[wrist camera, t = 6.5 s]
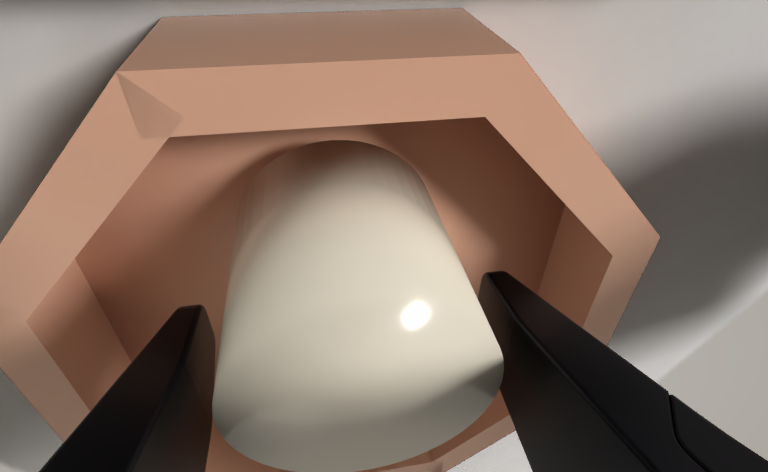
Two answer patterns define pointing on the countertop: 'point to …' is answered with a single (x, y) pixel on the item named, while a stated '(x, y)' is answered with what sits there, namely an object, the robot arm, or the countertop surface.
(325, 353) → the pebble sand
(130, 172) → the bowl
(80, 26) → the countertop surface
